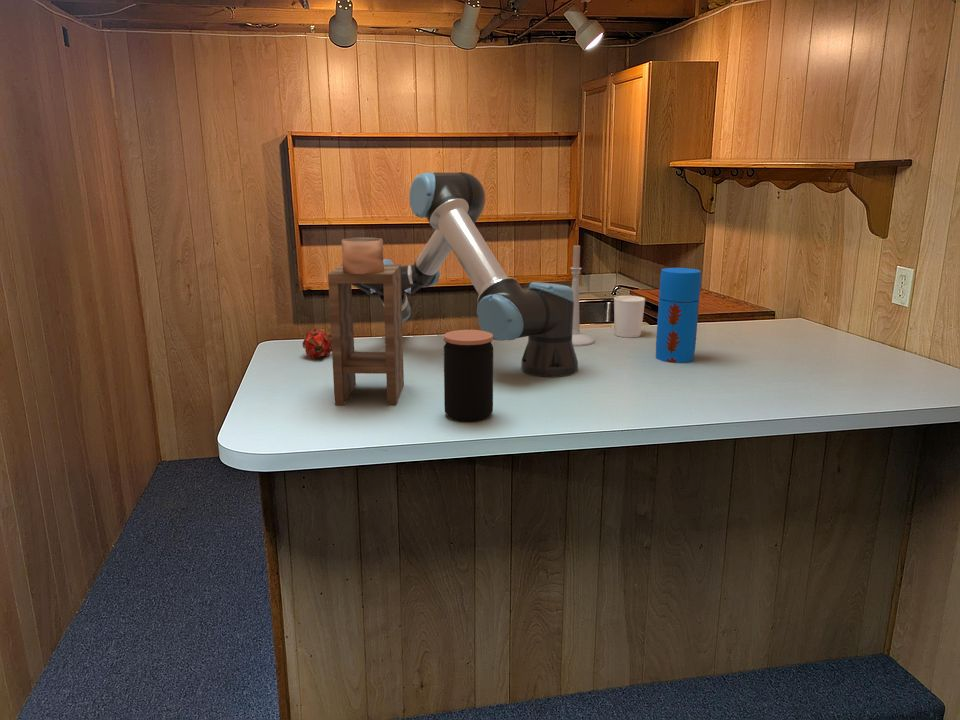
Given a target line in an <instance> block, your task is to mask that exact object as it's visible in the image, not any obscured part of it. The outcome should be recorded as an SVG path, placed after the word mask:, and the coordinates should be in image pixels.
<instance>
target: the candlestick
mask: <svg viewBox="0 0 960 720" xmlns="http://www.w3.org/2000/svg"><path fill="white" fill-rule="evenodd" d="M572 251H573V252H572V253H573V254H572V266H571V267H569V269H570V270H571V274H572V279H571V281H572V282H571V288H572V290H573V296H574V310H573V331H572V343H573V347H585V346H586V347H587V346H590V345H593V344H595V339H594V338H593V337H592V336H591V335H589V334H586V333H584V332H581V330H580V329H581V328H580V279H579V276H580V275H581V270H582V269H583V268H582V267H580V265H581V263H580V262H581V259H580V258H581V257H580V256H581V245H573V250H572Z"/></svg>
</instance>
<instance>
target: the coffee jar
mask: <svg viewBox="0 0 960 720" xmlns="http://www.w3.org/2000/svg"><path fill="white" fill-rule="evenodd" d="M443 341H444V342H445V344H444V346H443V377H444V378H443V384H444V385H443V386H444V387H443V388H444V391H443V392H444V393H443V394H444V398H443V399H444V400H443V401H444V403H443V404H444V407H443V408H444V414H446V416H447V417H448V418H449V419H451V420H453V421H457V422H461V423H473V422H474V423H475V422H481V421H484V420H486V419H489V417H490V416H491V414H492V412H493V410H494V346H493V343H492V342H493V334H491V333H490V332H486V331H482V329H481V330H480V329H459V330H452V331H448V332H446V333H444V334H443Z"/></svg>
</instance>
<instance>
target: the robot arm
mask: <svg viewBox="0 0 960 720" xmlns="http://www.w3.org/2000/svg"><path fill="white" fill-rule="evenodd" d="M409 188H410V189H409V206H410V209H411V211H412V214H413V215H415V216H416V217H417V218H420V219H423V218H426V219H427V221H428V223H429V225H430V226H431V228H432V229H434V232H433V233H432V234H431V237H430V238H429V240H428V241H427V242H426V244H425V246H424V247H423V249H422V251H421V252H420V254H419V255H418V257H417V258H416V260H415V261H414V263H413V264H409V265H406V264H405V265H401V295H402V324H403V323H404V322H405V323H406V321H408V320H409V319H410V316H411V312H412V311H411V309H412V307H411V305H410V303H409V300H408V296H407V293H408V294H409V295H410V296H412V297H413V296H415V295H416V293H417V292H418V291H419V290H420V289H422V288H429V287H433V286H436V285H437V284H438V283H439V281H440V276H441V274H440V268H441V267H442V266H443V263H444V262H445V261H446V259H448V257H449V255H450V254H451V252H453V253H454V256H455V257H456V259H457V260H458V262H459V264H460V265H461V267H462V269H463V270H464V272H465V273H466V275H467V277H468V279H469V280H470V282H471V284H472V286H473V288H474V289H475V290H476V292H477V293H478V297H477V300H476V301H477V302H476V304H477V307H476V315H477V318H476V319H477V323H478V325H479V328H480V329H481V331H486V332H490V333H491V334H493V340H494V341H497V342H498V341H500V342H501V341H513V340H516V339H520V338H521V339H522V338H525V337H528V338H527V339H528V340H527V343H526V346H525V348H524V349H525V350H524V352H523V355H522V357H521V362H520V364H521V365H520V369H521V371H522V372H524V373H527V374H529V375H533V376H539V377H548V378H549V377H550V378H551V377H564V376H565V377H566V376H570V375H574V374H575V373H577V372H578V370H579V361H578V358H577V353H576V352H575V348H574V347H575V346H573V343H572V331H573V310H574V296H573V290H572V287H570V286H569V285H564V284H560V283H559V284H558V283H550V282H549V283H548V282H541V281H539V282H536V281H533V282H531V283H529V285H528V289H526V290H524V289H523V288H522V287H521V284H520V283H519V282H518V280H517V279H516V278H515V277H510V276H508V275H507V274H506V273H505V270H504V269H503V268H502V266H501V264H500V263H499V262H498V260H497V258H496V257H495V255H494V253H493V252H492V249H490V247H489V245H488V244H487V243H486V241H485V238H484V237H483V236H482V234H481V233H480V230H479V229H478V228H477V226H476V224H475V223H476V222H477V221H478V219H479V217H480V216H481V215H482V213H483V211H484V209H485V205H486V204H485V203H486V192H485V189H484V188H485V187H484V186H483V184H482V183H481V181H480V180H479V179H478V178H477V177H476V176H474V175H473V174H471V173H467V172H436V171H435V172H433V171H429V172H424V173H419V174H418V175H416V176H415V178H414V179H413V180H412V182H411V184H410V187H409ZM383 262H384V264H394V262H393V260H391V259H388V258H385V259H384V258H383ZM351 286H353V287H355V288H356V289H359V290H361V291H362V292H364V293H366V294H367V295H368V296H372V295H373V293H376V294H377V295H379V297H380V298H379V299H380V301H381V303H382V305H383V307H384V287H383V283H351ZM493 340H492V341H493Z"/></svg>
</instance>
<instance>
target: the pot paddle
mask: <svg viewBox="0 0 960 720" xmlns="http://www.w3.org/2000/svg"><path fill="white" fill-rule="evenodd" d="M341 254H342V256H341V259H342V264H343V272H344V273H348V274H375V273H381V272H383V271H384V262H383V260H384V240H383V238H379V237H378V238H377V237H348V238H343V239H341Z"/></svg>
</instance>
